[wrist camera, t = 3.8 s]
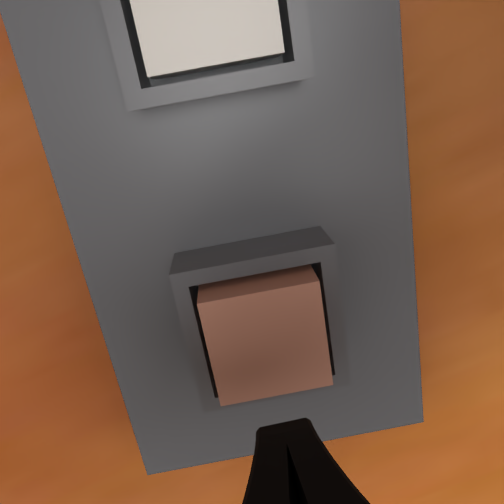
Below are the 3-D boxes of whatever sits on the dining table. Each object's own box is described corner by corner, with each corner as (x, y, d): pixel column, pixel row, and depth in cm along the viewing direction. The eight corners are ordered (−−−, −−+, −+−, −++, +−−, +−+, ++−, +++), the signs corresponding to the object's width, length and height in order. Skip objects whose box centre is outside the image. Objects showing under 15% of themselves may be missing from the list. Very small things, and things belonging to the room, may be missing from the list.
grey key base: (365, -294, 15) (414, -425, 11) (411, 402, 24) (447, 459, 20) (-56, -221, 15) (-149, -330, 11) (151, 452, 24) (139, 519, 20)
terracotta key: (308, 261, 18) (319, 280, 16) (322, 356, 19) (333, 385, 18) (199, 282, 18) (196, 303, 16) (220, 376, 19) (220, 406, 17)
